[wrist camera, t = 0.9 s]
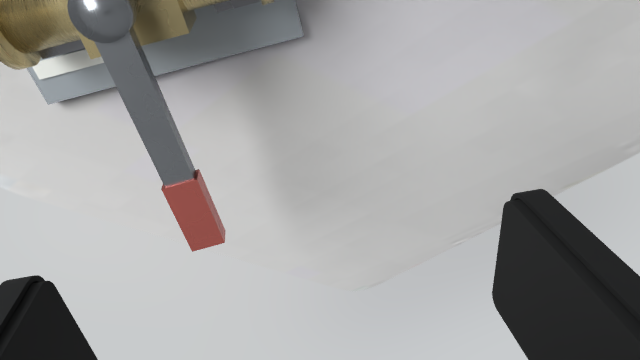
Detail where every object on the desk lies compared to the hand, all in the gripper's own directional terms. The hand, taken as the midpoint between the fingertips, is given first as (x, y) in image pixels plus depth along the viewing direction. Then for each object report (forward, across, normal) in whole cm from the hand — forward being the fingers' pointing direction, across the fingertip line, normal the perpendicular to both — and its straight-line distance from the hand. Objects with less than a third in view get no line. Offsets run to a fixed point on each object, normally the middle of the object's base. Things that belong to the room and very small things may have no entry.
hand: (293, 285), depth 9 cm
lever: (+18, +7, +3) cm, 19 cm away
